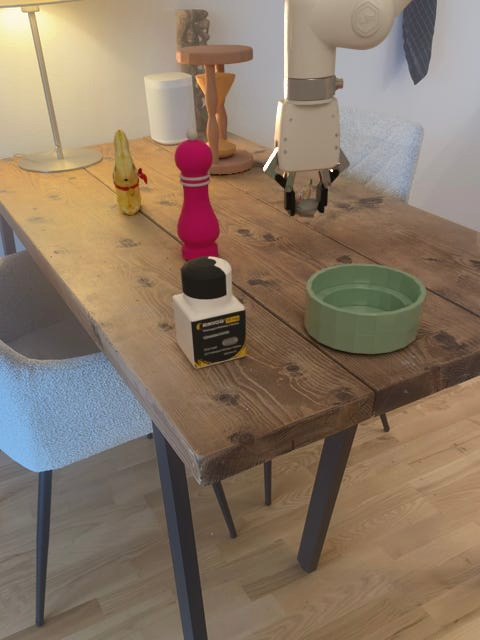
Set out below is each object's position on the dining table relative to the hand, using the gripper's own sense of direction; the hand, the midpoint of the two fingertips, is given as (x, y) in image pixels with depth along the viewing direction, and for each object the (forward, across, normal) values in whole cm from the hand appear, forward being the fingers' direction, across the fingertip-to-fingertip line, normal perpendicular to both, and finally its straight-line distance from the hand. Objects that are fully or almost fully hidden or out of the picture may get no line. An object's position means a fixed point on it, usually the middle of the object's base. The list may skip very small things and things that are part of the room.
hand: (305, 211), depth 97 cm
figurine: (+1, 0, 0) cm, 1 cm away
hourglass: (+6, +8, -57) cm, 58 cm away
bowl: (+7, 0, +30) cm, 31 cm away
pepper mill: (+6, +19, 0) cm, 20 cm away
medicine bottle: (+6, +21, +32) cm, 38 cm away
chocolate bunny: (+6, +30, -28) cm, 41 cm away
